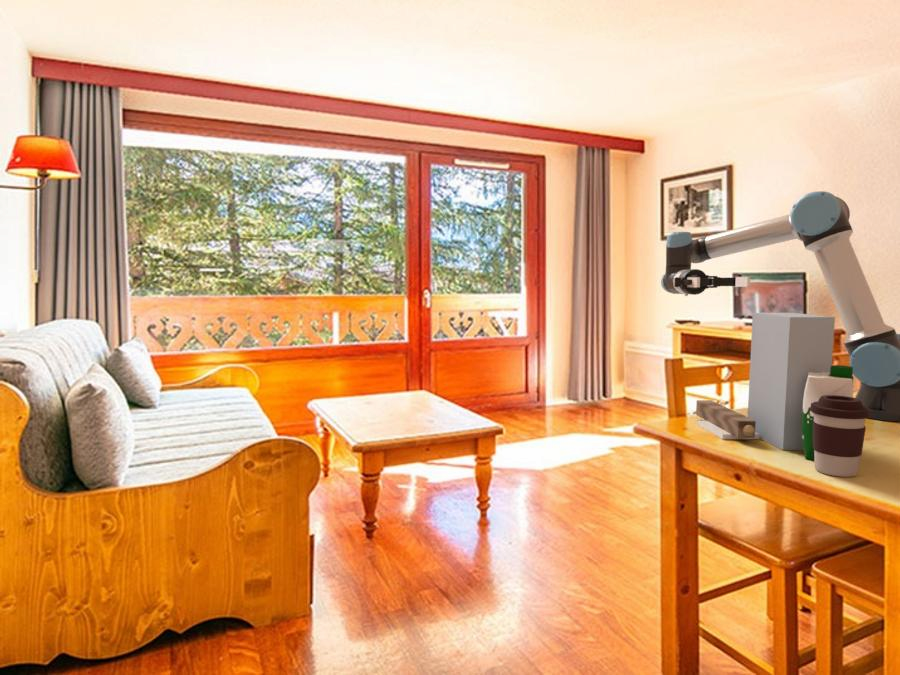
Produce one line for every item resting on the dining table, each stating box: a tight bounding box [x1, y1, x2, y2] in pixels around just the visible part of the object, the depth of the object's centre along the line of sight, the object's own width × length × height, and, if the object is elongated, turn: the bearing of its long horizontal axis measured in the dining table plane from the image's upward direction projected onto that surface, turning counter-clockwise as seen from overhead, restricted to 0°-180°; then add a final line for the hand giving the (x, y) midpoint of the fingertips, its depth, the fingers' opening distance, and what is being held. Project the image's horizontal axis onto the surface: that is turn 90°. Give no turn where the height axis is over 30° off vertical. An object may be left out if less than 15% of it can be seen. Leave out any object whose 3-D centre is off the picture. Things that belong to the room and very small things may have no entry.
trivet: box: [697, 420, 761, 440], centre depth 153 cm, size 14×9×1 cm, turn 1°
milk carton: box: [802, 364, 854, 461], centre depth 131 cm, size 9×9×20 cm
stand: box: [747, 312, 836, 451], centre depth 144 cm, size 16×10×30 cm, turn 1°
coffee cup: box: [810, 395, 870, 478], centre depth 121 cm, size 10×10×15 cm
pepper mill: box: [695, 399, 756, 438], centre depth 154 cm, size 26×4×4 cm, turn 0°
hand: (723, 282), depth 163 cm, fingers open, 13 cm apart
